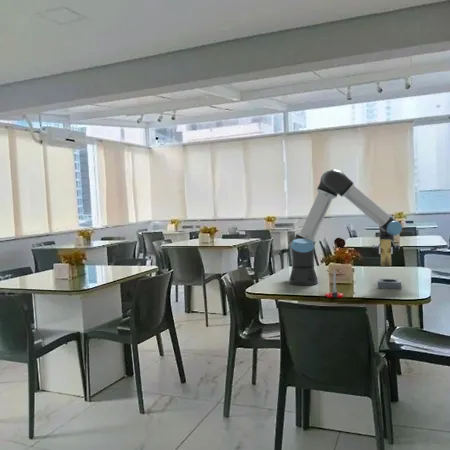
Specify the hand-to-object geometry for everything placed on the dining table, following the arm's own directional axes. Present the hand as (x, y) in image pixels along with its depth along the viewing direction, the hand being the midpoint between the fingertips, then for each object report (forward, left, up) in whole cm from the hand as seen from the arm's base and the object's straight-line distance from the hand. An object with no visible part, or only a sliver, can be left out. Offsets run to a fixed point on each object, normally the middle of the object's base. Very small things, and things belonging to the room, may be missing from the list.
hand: (385, 251), depth 237 cm
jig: (+2, +5, -19) cm, 19 cm away
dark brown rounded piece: (-28, +55, -19) cm, 65 cm away
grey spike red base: (-22, -23, -19) cm, 37 cm away
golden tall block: (0, +5, -8) cm, 9 cm away
